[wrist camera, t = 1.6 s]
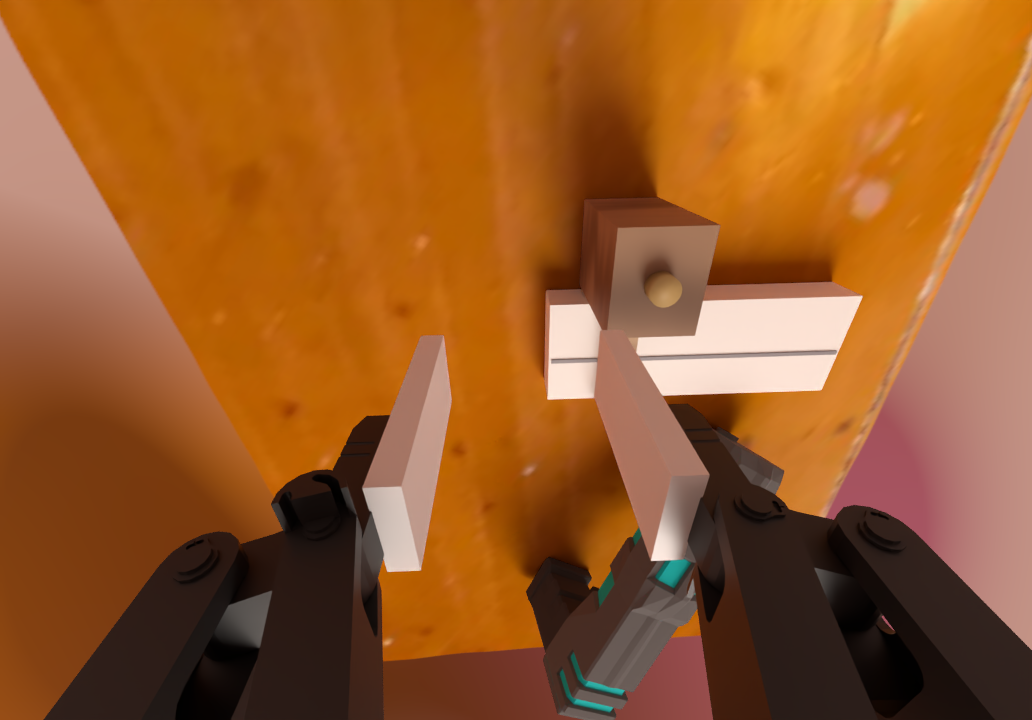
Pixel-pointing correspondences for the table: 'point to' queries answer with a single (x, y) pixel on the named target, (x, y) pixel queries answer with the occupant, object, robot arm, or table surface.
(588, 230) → the brown wooden clamp
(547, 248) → the table surface
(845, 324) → the board
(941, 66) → the table surface
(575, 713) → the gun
